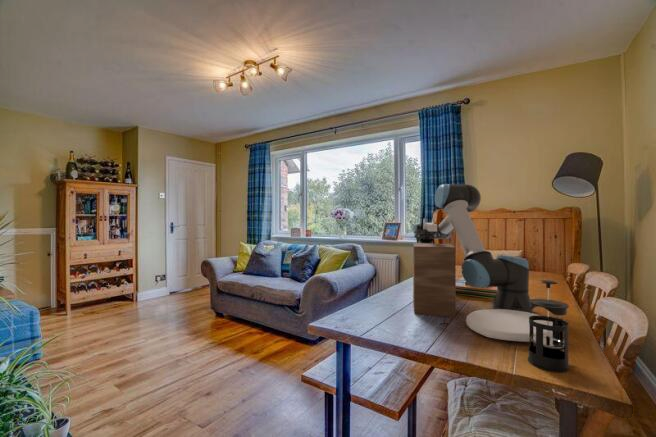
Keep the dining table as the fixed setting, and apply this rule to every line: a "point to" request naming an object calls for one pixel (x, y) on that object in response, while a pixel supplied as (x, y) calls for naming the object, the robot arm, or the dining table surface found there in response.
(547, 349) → the french press
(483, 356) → the dining table surface
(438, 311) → the walnut stand
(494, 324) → the plate
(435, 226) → the metal bar
